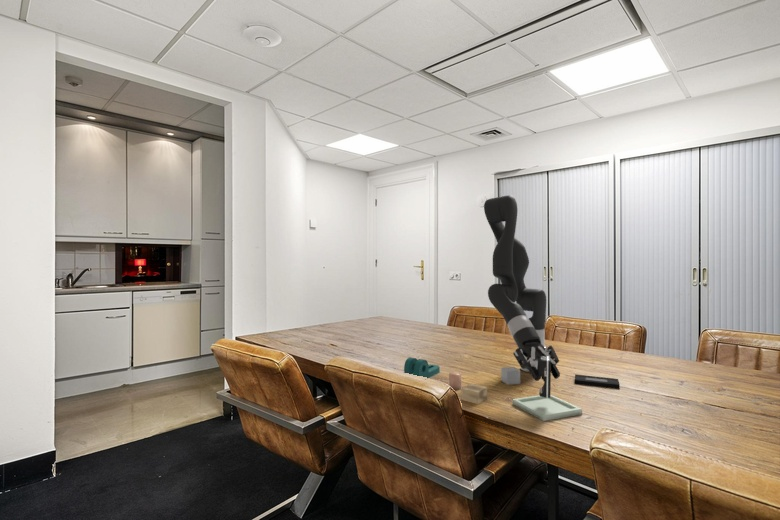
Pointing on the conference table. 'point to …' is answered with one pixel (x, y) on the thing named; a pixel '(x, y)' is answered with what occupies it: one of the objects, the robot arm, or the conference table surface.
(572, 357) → the conference table surface
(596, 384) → the vhs tape
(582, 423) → the conference table surface
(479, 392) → the oak block
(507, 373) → the grey box
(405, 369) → the bracket
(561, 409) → the tray
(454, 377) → the pink glossy rounded part
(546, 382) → the battery charger
